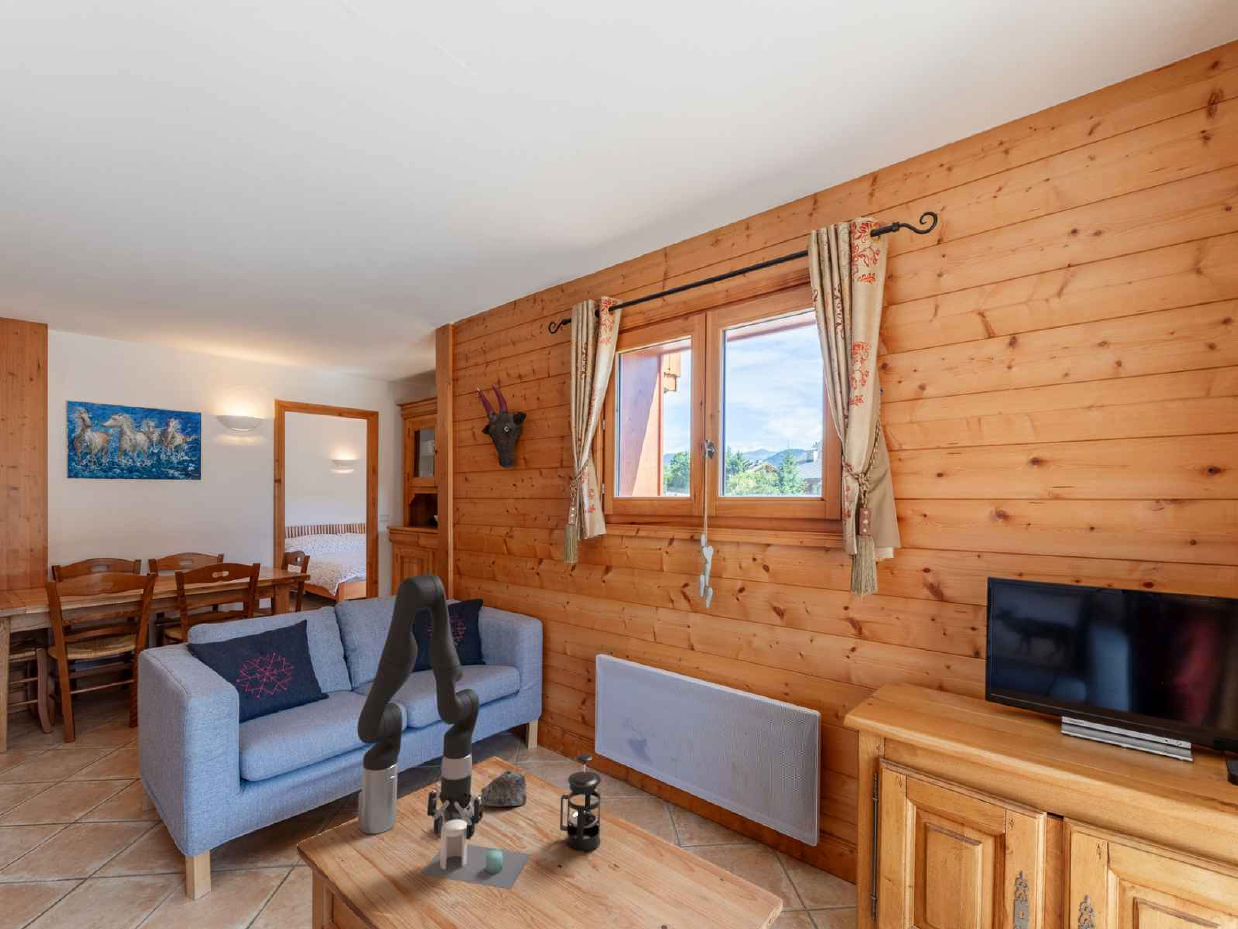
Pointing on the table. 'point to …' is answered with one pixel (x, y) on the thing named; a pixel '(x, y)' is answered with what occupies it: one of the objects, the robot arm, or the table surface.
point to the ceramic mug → (453, 816)
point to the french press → (582, 810)
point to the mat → (479, 867)
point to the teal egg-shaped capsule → (494, 862)
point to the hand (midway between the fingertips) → (454, 835)
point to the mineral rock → (505, 790)
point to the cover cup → (453, 841)
